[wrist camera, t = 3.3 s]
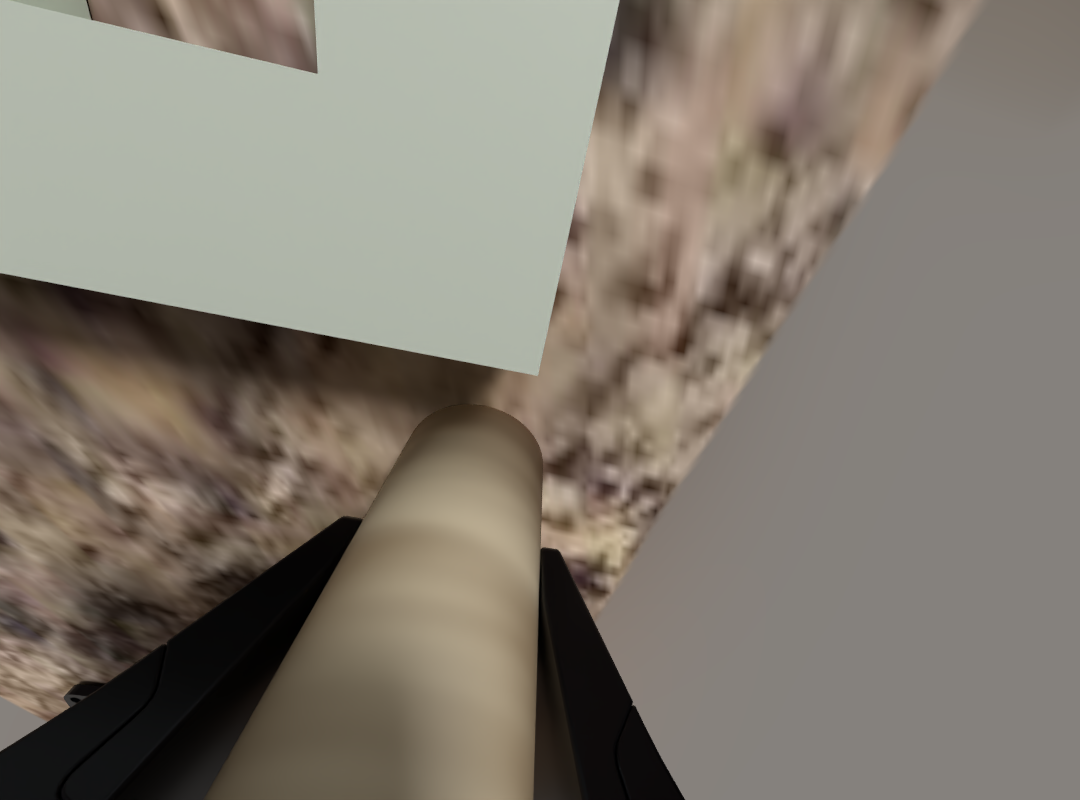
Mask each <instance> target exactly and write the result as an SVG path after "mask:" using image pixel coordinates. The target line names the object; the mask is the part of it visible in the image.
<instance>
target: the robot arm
mask: <svg viewBox="0 0 1080 800" xmlns="http://www.w3.org/2000/svg"><path fill="white" fill-rule="evenodd" d="M362 521H363V520H362V519H361V518H356V517H350V516H343V517H341V518H340V519H338V520H337V521H335V522H334V523H333V524H331V525H330V526H328V527H327V528H325V529H324V530H323V531H321V532H320V533H318V534H317V535H316V536H314V537H313V538H311V539H310V540H309V541H307V542H306V543H304V544H303V545H302V546H300V547H299V548H297V549H296V550H295V551H293V552H292V553H290V554H289V555H288V556H286V557H285V558H283V559H282V560H281V561H279V562H278V563H276V564H275V565H273V566H272V567H271V568H269V569H268V570H266V571H265V572H264V573H262V574H261V575H259V576H258V577H257V578H255V579H254V580H252V581H251V582H250V583H248V584H247V585H245V586H244V587H243V588H241V589H240V590H238V591H237V592H236V593H234V594H233V595H231V596H230V597H229V598H227V599H226V600H224V601H223V602H222V603H220V604H219V605H217V606H216V607H214V608H213V609H212V610H210V611H209V612H207V613H206V614H205V615H203V616H202V617H200V618H199V619H198V620H196V621H195V622H193V623H192V624H191V625H189V626H188V627H186V628H185V629H184V630H182V631H181V632H179V633H178V634H177V635H175V636H174V637H172V638H171V639H170V640H168V642H167V645H165V644H163V645H161V646H159V647H158V648H157V649H155V650H154V651H152V652H151V653H150V654H148V655H147V656H145V657H144V658H143V659H141V660H140V661H138V662H137V663H135V664H134V665H133V666H131V667H130V668H128V669H127V670H125V671H124V672H122V673H121V674H119V675H118V676H117V677H115V678H114V679H112V680H111V681H109V682H108V683H106V684H105V685H103V686H102V687H98V686H90V685H81V684H77V685H74V686H73V687H72V688H71V690H70V691H69V692H68V693H67V694H66V695H65V696H64V699H65V701H66V702H67V704H68V705H69V706H70V708H68V709H67V710H65V711H64V712H62V713H61V714H59V715H58V716H56V717H54V718H53V719H51V720H50V721H48V722H47V723H45V724H44V725H42V726H40V727H39V728H37V729H36V730H34V731H32V732H31V733H29V734H28V735H26V736H24V737H23V738H21V739H20V740H18V741H16V742H15V743H13V744H12V745H10V746H8V747H7V748H5V749H4V750H2V751H1V752H0V800H203V799H204V798H205V796H206V794H207V792H208V791H209V789H210V787H211V785H212V784H213V782H214V780H215V778H216V777H217V775H218V773H219V771H220V770H221V768H222V766H223V764H224V763H225V761H226V759H227V757H228V756H229V754H230V752H231V750H232V749H233V747H234V745H235V743H236V742H237V740H238V738H239V736H240V735H241V733H242V731H243V729H244V728H245V726H246V724H247V722H248V721H249V719H250V717H251V715H252V714H253V712H254V710H255V708H256V707H257V705H258V703H259V701H260V700H261V698H262V696H263V694H264V693H265V691H266V689H267V687H268V686H269V684H270V682H271V680H272V679H273V677H274V675H275V673H276V672H277V670H278V668H279V666H280V665H281V663H282V661H283V659H284V658H285V656H286V654H287V652H288V651H289V649H290V647H291V645H292V644H293V642H294V640H295V638H296V637H297V635H298V633H299V631H300V630H301V628H302V626H303V624H304V623H305V621H306V619H307V617H308V616H309V614H310V612H311V610H312V609H313V607H314V605H315V603H316V602H317V600H318V598H319V596H320V595H321V593H322V591H323V589H324V588H325V586H326V584H327V582H328V581H329V579H330V577H331V575H332V574H333V572H334V570H335V568H336V567H337V565H338V563H339V561H340V560H341V558H342V556H343V554H344V553H345V551H346V549H347V547H348V546H349V544H350V542H351V540H352V539H353V537H354V535H355V533H356V532H357V530H358V528H359V526H360V525H361V523H362ZM632 703H633V701H632V699H631V697H630V695H629V693H628V691H627V689H626V687H625V684H624V683H623V680H622V678H621V676H620V674H619V672H618V670H617V668H616V666H615V664H614V662H613V660H612V658H611V656H610V654H609V652H608V650H607V648H606V645H605V643H604V641H603V639H602V637H601V635H600V633H599V631H598V629H597V627H596V625H595V623H594V621H593V619H592V617H591V615H590V613H589V610H588V608H587V606H586V604H585V602H584V600H583V598H582V596H581V594H580V592H579V590H578V588H577V586H576V584H575V582H574V580H573V578H572V576H571V574H570V571H569V569H568V567H567V565H566V563H565V561H564V559H563V557H562V555H561V553H560V551H558V550H557V549H552V548H545V547H544V548H542V549H541V550H540V582H539V620H538V654H537V689H536V724H535V758H534V793H533V800H685V799H684V797H683V795H682V794H681V792H680V790H679V788H678V787H677V785H676V783H675V781H674V780H673V778H672V776H671V775H670V773H669V771H668V769H667V767H666V766H665V764H664V762H663V760H662V759H661V757H660V755H659V753H658V751H657V749H656V747H655V745H654V743H653V741H652V739H651V737H650V735H649V733H648V731H647V729H646V727H645V725H644V723H643V721H642V719H641V717H640V715H639V713H638V711H637V709H636V707H635V706H634V705H633V706H632Z"/></svg>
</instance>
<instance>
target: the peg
mask: <svg viewBox="0 0 1080 800" xmlns="http://www.w3.org/2000/svg"><path fill="white" fill-rule="evenodd" d="M542 481H543V459H542V453H541V450H540V447H539V445H538V443H537V441H536V439H535V438H534V436H533V435H532V433H531V432H530V431H529V430H528V429H527V428H526V427H525V426H524V425H523V424H522V423H521V422H520V421H518V420H517V419H515V418H514V417H512V416H511V415H509V414H507V413H505V412H503V411H500V410H497V409H495V408H491V407H487V406H482V405H469V404H464V405H455V406H451V407H447V408H444V409H441V410H438V411H436V412H435V413H433V414H431V415H429V416H428V417H427V418H425V419H424V420H423V421H422V422H421V423H420V424H419V425H418V426H417V428H416V429H415V430H414V432H413V433H412V435H411V437H410V439H409V440H408V442H407V444H406V446H405V447H404V449H403V451H402V453H401V454H400V456H399V458H398V460H397V461H396V463H395V465H394V467H393V468H392V470H391V472H390V474H389V475H388V477H387V479H386V481H385V482H384V484H383V486H382V488H381V489H380V491H379V493H378V495H377V496H376V498H375V500H374V502H373V503H372V505H371V507H370V509H369V510H368V512H367V514H366V516H365V517H364V519H363V521H362V523H361V525H360V526H359V528H358V530H357V532H356V533H355V535H354V537H353V539H352V540H351V542H350V544H349V546H348V547H347V549H346V551H345V553H344V554H343V556H342V558H341V560H340V561H339V563H338V565H337V567H336V568H335V570H334V572H333V574H332V575H331V577H330V579H329V581H328V582H327V584H326V586H325V588H324V589H323V591H322V593H321V595H320V596H319V598H318V600H317V602H316V603H315V605H314V607H313V609H312V610H311V612H310V614H309V616H308V617H307V619H306V621H305V623H304V624H303V626H302V628H301V630H300V631H299V633H298V635H297V637H296V638H295V640H294V642H293V644H292V645H291V647H290V649H289V651H288V652H287V654H286V656H285V658H284V659H283V661H282V663H281V665H280V666H279V668H278V670H277V672H276V673H275V675H274V677H273V679H272V680H271V682H270V684H269V686H268V687H267V689H266V691H265V693H264V694H263V696H262V698H261V700H260V701H259V703H258V705H257V707H256V708H255V710H254V712H253V714H252V715H251V717H250V719H249V721H248V722H247V724H246V726H245V728H244V729H243V731H242V733H241V735H240V736H239V738H238V740H237V742H236V743H235V745H234V747H233V749H232V750H231V752H230V754H229V756H228V757H227V759H226V761H225V763H224V764H223V766H222V768H221V770H220V771H219V773H218V775H217V777H216V778H215V780H214V782H213V784H212V785H211V787H210V789H209V791H208V792H207V794H206V796H205V798H204V799H203V800H533V793H534V758H535V724H536V689H537V654H538V620H539V582H540V550H541V515H542Z"/></svg>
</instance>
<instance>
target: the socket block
mask: <svg viewBox="0 0 1080 800" xmlns="http://www.w3.org/2000/svg"><path fill="white" fill-rule="evenodd" d="M618 5H619V0H314V7H315V26H316V46H317V65H318V74H315V73H311V72H307V71H302V70H298V69H294V68H290V67H286V66H282V65H277V64H273V63H269V62H265V61H261V60H256V59H252V58H248V57H244V56H240V55H236V54H231V53H227V52H223V51H219V50H215V49H210V48H206V47H202V46H198V45H194V44H190V43H185V42H181V41H177V40H173V39H169V38H164V37H160V36H156V35H152V34H148V33H144V32H139V31H135V30H131V29H127V28H123V27H118V26H114V25H110V24H106V23H102V22H98V21H93V20H91V17H90V13H89V9H88V5H87V1H86V0H0V273H3V274H8V275H14V276H19V277H24V278H29V279H34V280H40V281H45V282H50V283H55V284H61V285H66V286H71V287H76V288H82V289H87V290H92V291H97V292H102V293H108V294H113V295H118V296H123V297H129V298H134V299H139V300H144V301H149V302H155V303H160V304H165V305H170V306H176V307H181V308H186V309H191V310H197V311H202V312H207V313H212V314H217V315H223V316H228V317H233V318H238V319H244V320H249V321H254V322H259V323H264V324H270V325H275V326H280V327H285V328H291V329H296V330H301V331H306V332H312V333H317V334H322V335H327V336H332V337H338V338H343V339H348V340H353V341H359V342H364V343H369V344H374V345H379V346H385V347H390V348H395V349H400V350H406V351H411V352H416V353H421V354H426V355H432V356H437V357H442V358H447V359H453V360H458V361H463V362H468V363H474V364H479V365H484V366H489V367H494V368H500V369H505V370H510V371H515V372H521V373H526V374H531V375H536V376H538V373H539V368H540V363H541V359H542V354H543V350H544V345H545V340H546V336H547V331H548V327H549V322H550V317H551V313H552V308H553V304H554V299H555V294H556V290H557V285H558V281H559V276H560V271H561V267H562V262H563V258H564V253H565V248H566V244H567V239H568V235H569V230H570V225H571V221H572V216H573V212H574V207H575V202H576V198H577V193H578V189H579V184H580V179H581V175H582V170H583V166H584V161H585V156H586V152H587V147H588V143H589V138H590V133H591V129H592V124H593V120H594V115H595V110H596V106H597V101H598V97H599V92H600V87H601V83H602V78H603V74H604V69H605V64H606V60H607V55H608V51H609V46H610V41H611V37H612V32H613V28H614V23H615V18H616V14H617V9H618Z"/></svg>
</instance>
